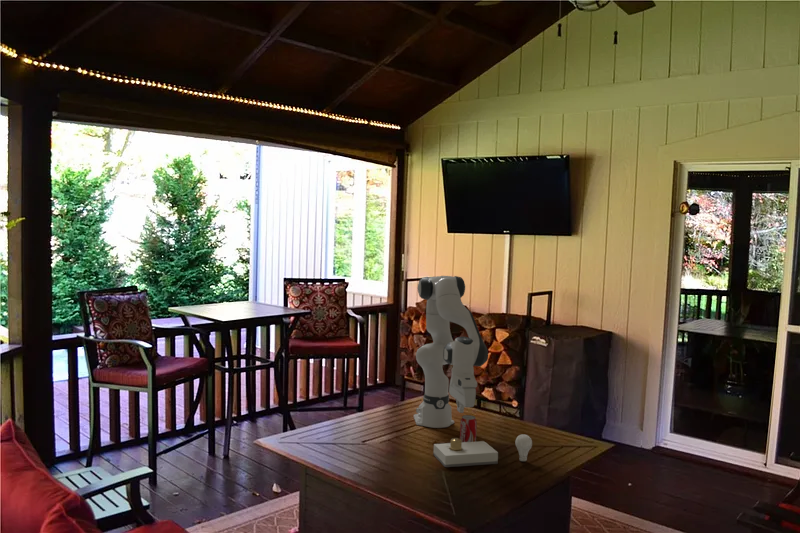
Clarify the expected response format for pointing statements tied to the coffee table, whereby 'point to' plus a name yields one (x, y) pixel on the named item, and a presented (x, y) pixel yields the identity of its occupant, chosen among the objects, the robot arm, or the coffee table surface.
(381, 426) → the coffee table surface
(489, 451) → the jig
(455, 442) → the olive glossy cylinder
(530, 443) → the light bulb
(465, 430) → the soda can
